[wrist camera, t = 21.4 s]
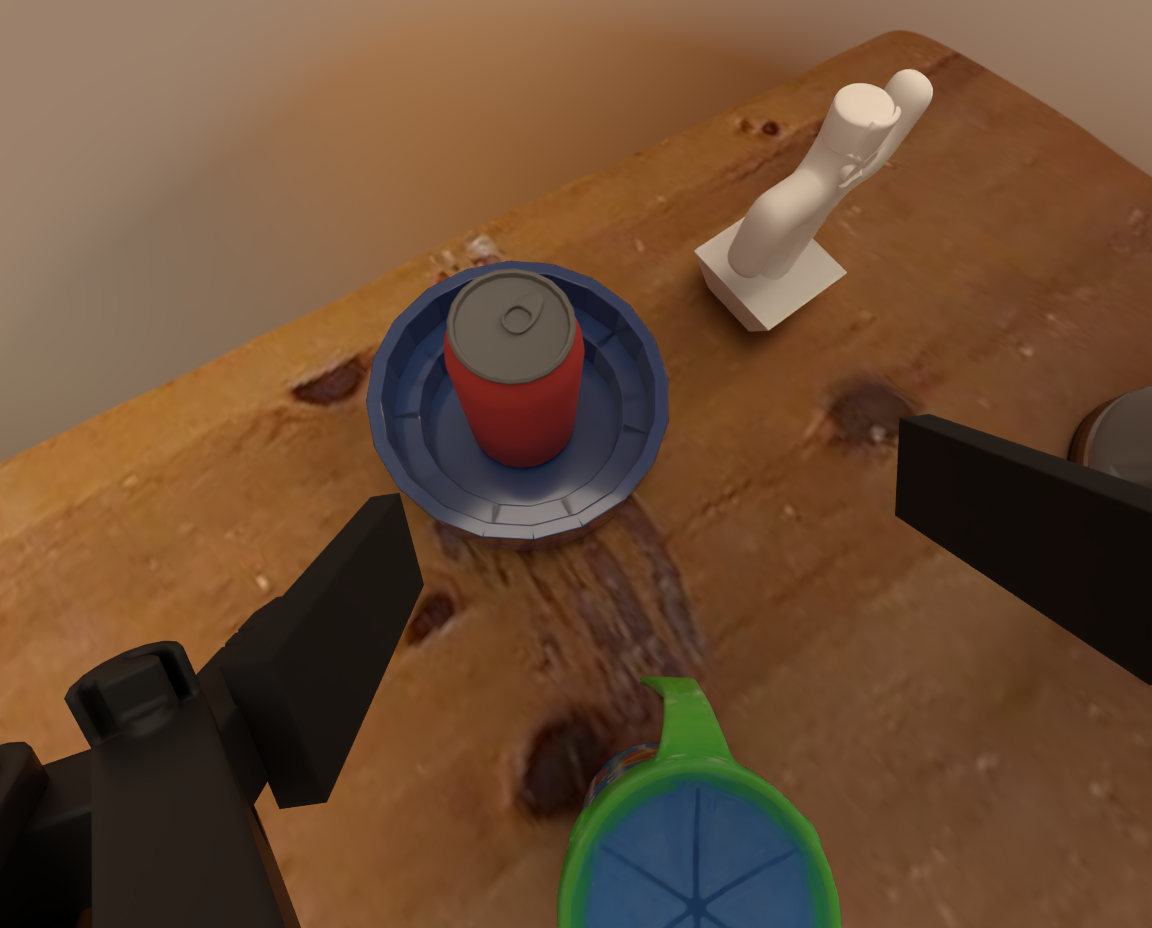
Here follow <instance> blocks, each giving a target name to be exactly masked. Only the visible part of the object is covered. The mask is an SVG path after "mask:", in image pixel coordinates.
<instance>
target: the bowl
mask: <svg viewBox="0 0 1152 928" xmlns="http://www.w3.org/2000/svg"><path fill="white" fill-rule="evenodd" d="M514 268H516V269H521V270H526V271H532V272H535V273H537V274H539V275H541V276H543V277H545V278H547V279H549V280H551V281H553V282H554V283H555V284H556V285H557V286H558V287H559V288H560V289H561V290H562V291H563V292H564V293H565V294H566V296H567V298H568V300H569V301H570V303H571V305H572V307H573V309H574V314H575V317H576V319H577V321H578V323H579V325H580V328H581V331H582V337H583V343H584V349H585V354H584V361H583V368H582V375H581V382H580V389H579V396H578V403H577V410H576V417H575V423H574V428H573V433H572V436H571V438H570V439H569V441H568V443H567V445H566V446H565V448H564V449H563V450H562V451H561V452H560V453H559V454H558V455H556V456H555V457H554V458H553V459H552V460H549V461H547V462H545V463H543V464H540V465H538V466H532V467H524V468H518V467H513V466H508V465H503V464H502V463H500V462H498V461H496V460H494V459H492V458H490V457H489V456H488V455H487V454H486V453H485V452H484V451H483V450H482V449H481V448H480V447H479V446H478V444H477V441H476V439H475V437H474V435H473V433H472V430H471V428H470V425H469V423H468V420H467V418H466V415H465V413H464V410H463V408H462V405H461V403H460V401H459V398H458V396H457V393H456V391H455V388H454V386H453V383H452V381H451V378H450V376H449V373H448V371H447V368H446V366H445V355H444V337H445V333H446V330H447V323H446V321H447V317H448V314H449V310H450V307H451V303H452V302H453V301H454V299H455V298H456V296H457V295H458V293H459V292H460V291H461V289H462V288H463V287H465V286H466V285H467V284H469V283H470V282H471V281H472V280H474V279H475V278H476V277H478V276H481V275H484V274H486V273H489V272H492V271H494V270H502V269H514ZM668 393H669V379H668V376H667V373H666V370H665V367H664V364H663V361H662V358H661V355H660V352H659V349H658V346H657V344H656V341H655V338H654V337H653V335H652V334H651V333H650V331H649V330H648V329H647V327H646V326H645V325H644V323H643V322H642V321H641V319H640V318H639V317H638V315H637V314H636V313H635V311H634V310H633V309H632V307H631V306H630V305H628V303H626V302H625V301H624V300H622V299H621V298H620V297H618V296H617V295H615V294H614V293H613V292H611V291H610V290H609V289H607V288H606V287H604V286H603V285H602V284H600V283H599V282H598V281H596V280H594V279H593V278H590V277H587V276H585V275H582V274H579V273H576V272H573V271H571V270H568V269H565V268H562V267H560V266H557V265H553V264H545V263H532V262H519V261H510V262H509V261H506V262H501V263H496V264H491V265H486V266H481V267H476V268H471V269H467V270H464V271H462V272H460V273H458V274H456V275H454V276H452V277H450V278H448V279H446V280H444V281H442V282H440V283H438V284H436V285H434V286H432V287H430V288H428V289H427V290H426V291H425V292H424V293H423V294H421V295H420V296H419V297H418V298H417V299H416V300H415V301H414V302H413V303H412V304H411V305H410V306H409V307H408V308H407V309H406V310H405V311H404V312H403V313H401V314H400V315H399V316H398V317H397V318H396V320H394V322H393V323H392V325H391V327H390V329H389V331H388V333H387V334H386V336H385V338H384V340H383V342H382V344H381V345H380V347H379V349H378V351H377V353H376V355H375V356H374V359H373V364H372V370H371V376H370V381H369V387H368V393H367V399H366V402H367V403H366V404H367V410H368V415H369V421H370V426H371V432H372V438H373V443H374V446H375V449H376V451H377V453H378V454H379V456H380V458H381V460H382V461H383V463H384V465H385V466H386V468H387V470H388V472H389V473H390V475H391V477H392V478H393V480H394V482H395V484H396V485H397V487H398V488H399V489H400V490H401V491H402V492H404V493H405V494H406V495H407V496H408V497H409V498H410V499H412V500H413V501H414V502H415V503H416V504H417V505H419V506H420V507H421V508H422V509H423V510H424V511H426V512H427V513H428V514H429V515H430V516H432V517H433V518H434V519H435V520H436V521H437V522H439V523H440V524H441V525H442V526H443V527H445V528H446V529H447V530H448V531H449V532H451V533H452V534H455V535H457V536H460V537H462V538H465V539H467V540H470V541H473V542H475V543H478V544H480V545H483V546H485V547H488V548H490V549H503V550H520V551H539V550H543V549H546V548H550V547H554V546H558V545H562V544H565V543H569V542H573V541H577V540H579V539H580V538H582V537H583V536H585V535H587V534H588V533H590V532H591V531H593V530H594V529H596V528H597V527H599V526H600V525H602V524H604V523H605V522H607V521H608V520H610V519H611V518H613V517H614V516H615V514H616V513H617V512H618V511H619V509H620V508H621V507H622V506H623V504H624V503H625V502H626V501H627V499H628V498H629V497H630V496H631V494H632V493H633V492H634V491H635V489H636V488H637V487H638V486H639V484H640V483H641V481H642V480H643V478H644V477H645V476H646V474H647V473H648V471H649V470H650V468H651V467H652V466H653V464H654V461H655V458H656V456H657V453H658V450H659V447H660V444H661V441H662V439H663V436H664V433H665V430H666V427H667V424H668Z"/></svg>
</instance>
